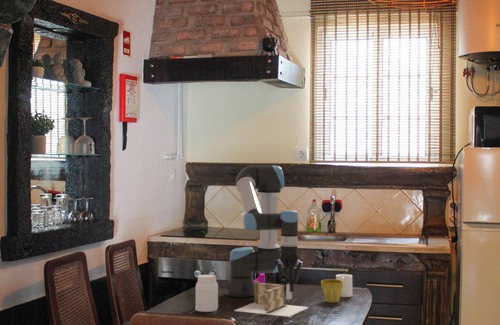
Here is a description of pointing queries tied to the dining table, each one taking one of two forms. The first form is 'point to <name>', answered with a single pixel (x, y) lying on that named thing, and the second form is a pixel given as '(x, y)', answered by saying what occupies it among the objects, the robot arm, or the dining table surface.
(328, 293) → the plant pot
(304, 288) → the dining table surface
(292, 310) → the card
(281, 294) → the wooden board
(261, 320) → the dining table surface
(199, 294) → the jar
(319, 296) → the dining table surface
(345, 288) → the cup
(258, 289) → the fixed fence section
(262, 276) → the toy block
